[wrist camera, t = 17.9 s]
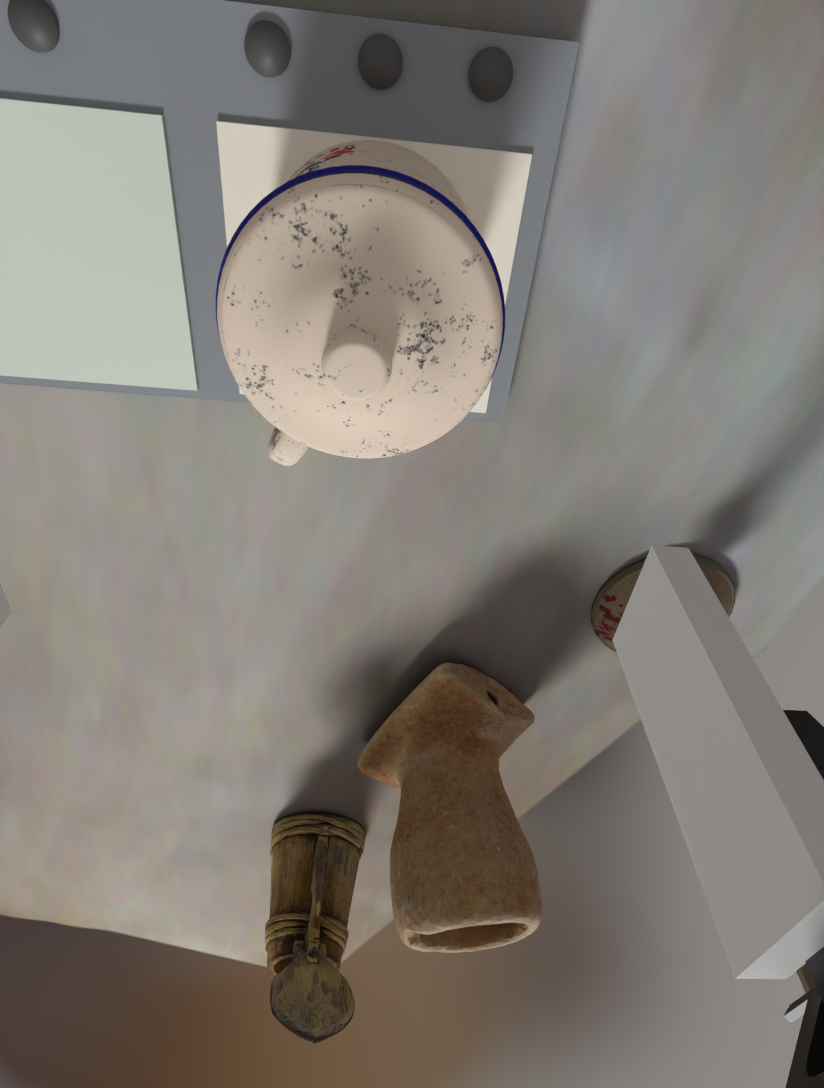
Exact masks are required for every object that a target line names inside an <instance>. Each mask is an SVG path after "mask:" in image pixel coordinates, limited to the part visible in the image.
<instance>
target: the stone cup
mask: <svg viewBox="0 0 824 1088" xmlns="http://www.w3.org/2000/svg"><path fill="white" fill-rule="evenodd" d="M534 718H535V717H534V715H533V713H532V712H531V711H530V710H529V709H528V708H527V707H525V706H524V705H523V704H522V703H521V702H520V701H519V700H518V699H517V698H516V697H515V696H514V694H513V693H511V692H509V691H508V690H507V689H506V688H505V687H503V686H502V685H501V684H499V683H498V682H497V681H496V680H494V679H493V678H491V677H488V676H486V675H484V674H483V673H481V672H479V671H478V670H476V669H474V668H471V667H468V666H465V665H463V664H455V663H443V664H441V665H440V666H438V667H437V668H435V669H434V670H433V671H432V672H431V673H430V674H429V675H428V676H427V677H426V678H425V679H424V680H423V681H422V682H421V683H420V684H419V685H418V686H417V687H416V688H415V689H414V690H413V691H412V692H411V693H410V694H409V695H408V696H407V698H406V699H405V700H404V701H403V702H402V703H401V704H400V705H399V706H398V708H397V709H396V710H394V712H393V713H392V714H391V715H390V716H389V717H388V719H387V720H386V721H385V722H384V723H383V724H382V725H381V727H380V728H379V729H378V730H377V731H376V733H375V734H374V735H373V737H372V738H371V739H370V741H369V742H368V743H367V745H366V746H365V747H364V749H363V751H362V753H361V755H360V757H359V760H358V768H359V769H360V771H361V772H363V773H364V774H366V775H368V776H370V777H372V778H374V779H376V780H378V781H381V782H383V783H386V784H389V785H392V786H394V787H397V788H401V799H400V807H399V814H398V820H397V824H396V829H395V833H394V836H393V841H392V846H391V853H390V887H391V897H392V907H393V914H394V920H395V924H396V928H397V931H398V934H399V936H400V938H401V939H402V941H403V942H404V944H405V945H407V946H408V947H409V948H412V949H415V950H419V951H423V952H430V951H437V952H447V953H457V952H470V951H477V950H483V949H490V948H495V947H500V946H504V945H507V944H510V943H513V942H516V941H518V940H521V939H523V938H524V937H526V936H528V935H530V934H531V933H533V932H534V931H535V930H536V929H537V927H538V925H539V924H540V921H541V915H542V903H541V902H542V900H541V893H540V885H539V878H538V872H537V867H536V863H535V859H534V856H533V853H532V851H531V848H530V846H529V844H528V842H527V840H526V838H525V836H524V834H523V832H522V830H521V827H520V825H519V823H518V821H517V818H516V816H515V813H514V811H513V808H512V806H511V803H510V801H509V799H508V796H507V794H506V792H505V789H504V787H503V784H502V780H501V777H500V772H499V758H500V757H501V756H502V755H503V753H504V752H505V751H506V750H507V749H508V748H509V747H510V746H511V745H512V744H513V742H514V741H515V740H516V739H517V738H518V737H519V736H520V735H521V734H522V733H523V732H524V731H525V730H526V729H527V728H528V727H529V726H530V725H531V724H532V723H533V722H534Z"/></svg>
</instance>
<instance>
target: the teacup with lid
mask: <svg viewBox="0 0 824 1088" xmlns="http://www.w3.org/2000/svg"><path fill="white" fill-rule="evenodd" d="M216 321H217V328H218V333H219V338H220V342H221V345H222V349H223V352H224V355H225V358H226V360H227V363H228V366H229V368H230V370H231V372H232V374H233V376H234V378H235V380H236V382H237V384H238V385H239V387H240V388H241V390H242V392H243V393H244V394H245V396H246V397H247V398H248V400H249V401H250V402H251V404H252V405H253V406H254V407H255V408H256V409H257V410H258V411H259V412H260V413H261V414H262V415H263V416H264V417H265V418H266V419H267V420H268V421H269V422H270V423H272V424H273V425H274V426H275V428H274V430H273V433H272V436H271V438H270V441H269V445H268V454H269V456H270V458H271V459H272V460H274V461H276V462H278V463H280V464H282V465H285V466H292V465H294V464H295V463H297V462H298V461H299V460H300V458H301V457H302V456H303V455H304V453H305V452H306V450H307V448H308V447H311V448H314V449H317V450H320V451H322V452H326V453H330V454H333V455H338V456H344V457H351V458H381V457H388V456H394V455H399V454H403V453H406V452H409V451H412V450H415V449H418V448H420V447H422V446H425V445H427V444H429V443H431V442H433V441H434V440H436V439H438V438H440V437H441V436H443V435H444V434H446V433H447V432H448V431H450V430H451V429H452V428H453V427H455V426H456V425H457V424H458V423H459V422H460V421H461V420H462V419H463V418H464V417H465V416H466V415H467V414H468V413H469V412H470V411H471V410H472V408H473V407H474V406H475V405H476V403H477V402H478V400H479V399H480V397H481V396H482V394H483V393H484V391H485V390H486V388H487V386H488V384H489V382H490V381H491V379H492V376H493V374H494V372H495V369H496V367H497V364H498V361H499V358H500V354H501V350H502V345H503V341H504V332H505V302H504V294H503V289H502V284H501V280H500V276H499V273H498V270H497V267H496V264H495V262H494V259H493V257H492V255H491V252H490V250H489V249H488V247H487V245H486V243H485V241H484V239H483V238H482V236H481V235H480V233H479V232H478V230H477V229H476V227H475V226H474V225H473V224H472V222H471V221H470V218H469V216H468V213H467V211H466V208H465V206H464V204H463V202H462V200H461V198H460V196H459V194H458V193H457V191H456V190H455V188H454V187H453V185H452V184H451V183H450V181H449V180H448V179H447V178H446V176H445V175H444V174H443V173H442V172H441V171H440V170H439V169H438V168H437V167H436V166H434V165H433V164H432V163H431V162H429V161H428V160H427V159H425V158H424V157H422V156H421V155H419V154H417V153H415V152H413V151H411V150H409V149H407V148H405V147H402V146H399V145H397V144H393V143H389V142H384V141H377V140H358V141H350V142H345V143H341V144H338V145H335V146H332V147H329V148H327V149H325V150H323V151H321V152H319V153H318V154H316V155H315V156H313V157H311V158H310V159H309V160H308V161H306V162H305V163H304V164H303V165H301V166H300V167H299V168H298V169H297V170H296V171H295V172H294V174H293V175H292V176H291V177H290V178H289V180H288V181H287V182H286V183H284V184H283V185H281V186H280V187H278V188H276V189H275V190H273V191H272V192H271V193H269V194H268V195H267V196H266V197H265V198H263V199H262V200H261V201H260V202H259V203H258V204H257V205H256V206H255V207H254V208H253V209H252V210H251V211H250V212H249V213H248V215H247V216H246V217H245V218H244V220H243V221H242V222H241V224H240V225H239V227H238V228H237V230H236V232H235V233H234V235H233V237H232V238H231V241H230V243H229V245H228V247H227V249H226V251H225V254H224V257H223V260H222V263H221V267H220V271H219V275H218V280H217V288H216Z"/></svg>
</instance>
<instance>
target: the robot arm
mask: <svg viewBox="0 0 824 1088" xmlns="http://www.w3.org/2000/svg"><path fill="white" fill-rule="evenodd" d="M10 613H11V609H10V606H9V604H8V602H7V599H6V597H5V594H4V592H3V590H2V587H1V585H0V627H1V626H2V624H3V623H4V621H5V620H6V618H7V617H8V616H9V614H10ZM612 641H613V643H614V646H615V649H616V652H617V654H618V657H619V660H620V663H621V665H622V668H623V671H624V674H625V676H626V679H627V682H628V685H629V687H630V690H631V693H632V696H633V698H634V701H635V704H636V707H637V709H638V712H639V715H640V718H641V720H642V723H643V726H644V729H645V731H646V734H647V737H648V740H649V742H650V745H651V747H652V750H653V753H654V756H655V759H656V761H657V764H658V767H659V770H660V772H661V775H662V778H663V780H664V783H665V786H666V789H667V792H668V794H669V797H670V800H671V803H672V805H673V808H674V811H675V814H676V817H677V819H678V822H679V825H680V828H681V830H682V832H683V836H684V839H685V841H686V844H687V847H688V850H689V852H690V855H691V858H692V860H693V863H694V866H695V869H696V872H697V874H698V877H699V880H700V882H701V885H702V888H703V891H704V894H705V896H706V899H707V902H708V905H709V907H710V910H711V913H712V915H713V918H714V921H715V924H716V927H717V929H718V932H719V935H720V938H721V940H722V943H723V945H724V949H725V951H726V954H727V957H728V960H729V962H730V965H731V968H732V971H733V973H734V976H735V978H736V979H786V978H788V977H789V976H790V975H791V974H792V973H794V972H795V971H797V970H798V969H799V968H800V967H802V966H803V965H804V964H806V965H807V967H808V969H809V971H810V974H811V976H812V978H813V980H814V983H815V985H816V986H815V987H814V988H813V989H811V990H810V991H809V992H807V993H806V994H804V995H803V996H802V997H801V998H799V999H798V1000H796V1001H795V1002H793V1003H792V1004H791V1005H790V1006H789V1008H788V1009H787V1011H786V1013H785V1015H784V1018H786V1019H787V1020H788V1021H790V1022H793V1021H794V1020H796V1019H797V1018H798V1017H800V1016H801V1015H803V1014H804V1016H803V1020H802V1024H801V1029H800V1032H799V1036H798V1040H797V1044H796V1048H795V1052H794V1057H793V1061H792V1064H791V1069H790V1072H789V1077H788V1081H787V1085H786V1088H824V727H823V726H822V725H821V724H820V723H819V722H818V721H817V720H816V719H815V718H813V717H812V716H811V715H810V714H809V713H808V712H807V711H795V710H782V708H781V706H780V704H779V703H778V701H777V699H776V697H775V696H774V694H773V692H772V691H771V689H770V687H769V685H768V684H767V682H766V680H765V679H764V677H763V675H762V673H761V672H760V670H759V668H758V667H757V665H756V663H755V661H754V660H753V658H752V656H751V654H750V653H749V651H748V649H747V648H746V646H745V644H744V642H743V641H742V639H741V637H740V636H739V634H738V632H737V630H736V629H735V627H734V625H733V624H732V622H731V620H730V618H729V617H728V615H727V613H726V611H725V610H724V608H723V606H722V605H721V603H720V601H719V599H718V598H717V596H716V594H715V593H714V591H713V589H712V587H711V586H710V584H709V582H708V581H707V579H706V577H705V575H704V574H703V572H702V570H701V568H700V567H699V565H698V563H697V562H696V560H695V558H694V556H693V555H692V553H691V551H690V550H689V548H684V547H667V546H651V548H650V551H649V553H648V555H647V558H646V560H645V563H644V565H643V568H642V570H641V572H640V575H639V577H638V580H637V582H636V584H635V587H634V589H633V592H632V594H631V596H630V599H629V601H628V604H627V606H626V609H625V611H624V613H623V616H622V618H621V621H620V623H619V625H618V628H617V630H616V633H615V635H614V637H613V640H612Z"/></svg>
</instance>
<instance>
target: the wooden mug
mask: <svg viewBox="0 0 824 1088" xmlns="http://www.w3.org/2000/svg"><path fill="white" fill-rule="evenodd" d="M364 843H365V834H364V831H363V829H362V827H360V826H359V825H358V824H357V823H355V822H354V821H351V820H349V819H347V818H345V817H342V816H339V815H335V814H327V813H321V812H305V813H299V814H293V815H290V816H287V817H284V818H283V819H281V820H280V821H279V822H278V823H276V824H275V825H274V826H273V830H272V838H271V847H270V854H271V856H272V866H271V898H270V918H269V920H268V921H267V923H266V929H265V950H266V952H267V969H268V971H269V973H270V974H272V975H274V976H275V977H274V979H273V981H272V983H271V993H270V1005H271V1010H272V1014H273V1015H274V1016H275V1017H276V1019H277V1020H278V1021H279V1022H280V1023H281V1024H283V1025H284V1026H285V1027H286V1028H287V1029H288V1030H290V1031H291V1032H293V1033H294V1034H296V1035H297V1036H299V1037H300V1038H303V1039H305V1040H307V1041H310V1042H312V1043H318V1042H320V1041H322V1040H325V1039H327V1038H329V1037H331V1036H333V1035H335V1034H337V1033H338V1032H340V1031H341V1030H343V1029H344V1028H345V1027H346V1026H347V1025H348V1023H349V1022H350V1021H351V1019H352V1016H353V1014H354V1007H355V1005H354V997H353V994H352V991H351V988H350V986H349V984H348V982H347V980H346V979H345V978H344V976H342V974H341V973H340V972H339V968H340V963H341V958H342V956H343V955H344V953H345V948H346V943H347V939H348V933H349V932H348V930H347V924H348V917H349V911H350V906H351V901H352V896H353V890H354V885H355V880H356V875H357V869H358V864H359V861H360V860H361V858H362V857H363V850H364Z"/></svg>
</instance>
